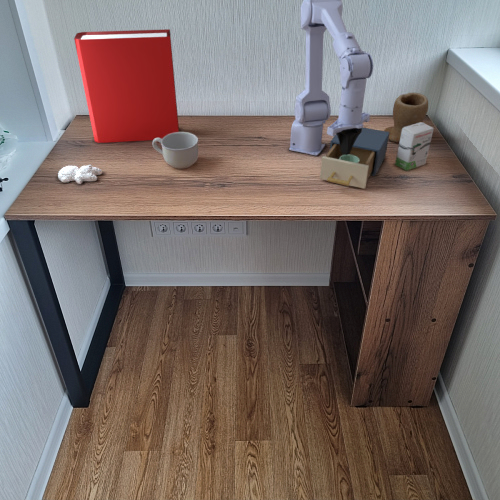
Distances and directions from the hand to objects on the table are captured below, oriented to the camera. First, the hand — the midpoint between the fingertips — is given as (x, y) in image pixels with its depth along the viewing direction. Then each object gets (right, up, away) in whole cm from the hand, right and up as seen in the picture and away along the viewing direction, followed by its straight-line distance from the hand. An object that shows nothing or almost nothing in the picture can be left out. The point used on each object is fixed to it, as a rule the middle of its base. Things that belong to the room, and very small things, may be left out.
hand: (345, 153), depth 136 cm
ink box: (+23, 0, +17) cm, 28 cm away
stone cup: (+26, +10, +31) cm, 42 cm away
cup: (+2, -4, +9) cm, 10 cm away
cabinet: (+7, +1, +18) cm, 20 cm away
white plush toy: (-75, -5, +11) cm, 75 cm away
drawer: (+2, -5, +9) cm, 11 cm away
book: (-63, +12, +33) cm, 72 cm away
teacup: (-47, 0, +18) cm, 51 cm away
